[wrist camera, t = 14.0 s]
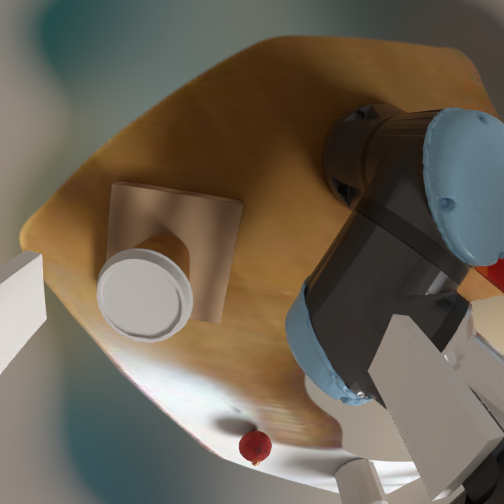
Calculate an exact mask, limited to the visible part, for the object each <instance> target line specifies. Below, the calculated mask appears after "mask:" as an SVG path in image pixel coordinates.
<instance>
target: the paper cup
mask: <svg viewBox="0 0 504 504" xmlns="http://www.w3.org/2000/svg"><path fill="white" fill-rule="evenodd" d="M475 269H476V270H477V271H478V272H479V273H480V274H481V275H482V276H483V277H485V278H486V279H487V280H488V281H489V282H491V283H492V284H493V285H494V286H496V287H497V288H498V289H499V290H500V291H502V292H503V293H504V258H503V259H500V258H498V261H497V262H496V263H495V264H493V265H489V266H475Z"/></svg>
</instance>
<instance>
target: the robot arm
mask: <svg viewBox="0 0 504 504" xmlns="http://www.w3.org/2000/svg"><path fill="white" fill-rule="evenodd" d="M323 169H324V174H325V178H326V181H327V183H328V185H329V188H330V189H331V191H332V193H333V194H334V196H335V197H336V198H337V199H338V200H339V202H340V203H341V204H343V205H344V206H345V207H346V208H348V209H349V210H351V211H352V213H351V214H350V216H349V217H348V219H347V221H346V222H345V224H344V225H343V227H342V228H341V230H340V232H339V233H338V235H337V236H336V238H335V239H334V241H333V243H332V244H331V246H330V247H329V249H328V250H327V252H326V253H325V255H324V256H323V258H322V259H321V261H320V262H319V264H318V265H317V267H316V268H315V269H314V271H313V272H312V274H311V275H310V276H308V277H307V278H306V280H305V281H304V282H303V284H302V287H301V291H300V293H299V294H298V296H297V298H296V299H295V301H294V303H293V304H292V306H291V307H290V309H289V311H288V313H287V316H286V320H285V329H286V333H287V336H286V337H287V342H288V344H289V347H290V350H291V352H292V354H293V356H294V357H295V359H296V361H297V362H298V364H299V366H300V367H301V368H302V370H303V371H304V372H305V373H306V375H307V376H308V377H309V378H310V379H311V380H312V381H313V382H314V384H316V385H317V386H318V387H319V388H320V389H321V390H322V391H323V392H325V393H326V394H327V395H329V396H331V397H332V398H334V399H339V398H340V400H341V401H342V402H343V403H344V404H347V405H351V406H358V405H362V404H364V403H367V402H369V401H371V400H372V399H374V400H376V401H377V402H378V403H379V404H380V405H382V406H383V407H384V408H385V409H386V410H388V411H389V413H390V415H391V417H392V419H393V421H394V423H395V425H396V427H397V429H398V431H399V433H400V435H401V437H402V439H403V441H404V443H405V445H406V447H407V449H408V451H409V453H410V455H411V457H412V459H413V462H414V464H415V466H416V468H417V470H418V472H419V474H420V476H421V478H422V481H423V483H424V485H425V487H426V489H427V491H428V494H429V496H430V498H431V500H432V501H434V500H437V499H440V498H443V497H446V496H449V495H451V494H452V493H453V492H454V491H455V490H456V489H457V488H458V487H459V486H460V485H461V484H462V485H463V486H464V488H465V490H464V491H463V492H462V493H461V494H460V495H459V496H458V497H457V498H456V499H454V500H453V501H452V502H451V503H450V504H504V355H503V354H502V353H501V352H500V351H499V350H498V349H496V348H495V347H494V346H493V345H492V344H491V343H489V342H488V341H487V340H486V339H485V338H484V337H482V336H481V335H480V334H479V333H478V332H477V331H476V329H475V327H474V320H473V311H472V304H471V303H470V302H468V301H467V300H466V299H465V298H464V297H462V296H461V295H460V294H459V293H458V292H457V289H458V287H459V285H460V284H461V283H462V281H463V280H464V278H465V277H466V275H467V273H468V272H469V270H470V269H471V267H472V266H489V265H493V264H495V263H496V262H497V261H498V258H500V259H503V258H504V124H503V123H502V122H500V121H499V120H498V119H496V118H495V117H493V116H492V115H490V114H487V113H485V112H481V111H475V110H464V109H461V108H456V107H455V108H446V109H439V110H430V111H422V112H414V113H407V112H405V111H403V110H401V109H399V108H397V107H395V106H392V105H387V104H380V103H374V104H367V105H363V106H359V107H356V108H353V109H351V110H349V111H348V112H346V113H345V114H343V115H342V116H341V117H340V118H339V119H338V120H337V121H336V122H335V123H334V125H333V126H332V128H331V129H330V131H329V133H328V135H327V138H326V141H325V144H324V149H323ZM46 319H47V317H46V309H45V298H44V285H43V269H42V254H40V253H36V252H32V251H27V250H26V251H24V252H23V253H21V254H20V255H18V256H17V257H15V258H14V259H12V260H10V261H9V262H7V263H6V264H5V265H3V266H1V267H0V374H1V373H2V372H3V370H4V369H5V368H6V366H7V365H8V364H9V362H10V361H11V360H12V359H13V358H14V357H15V355H16V354H17V353H18V352H19V351H20V349H21V348H22V347H23V346H24V345H25V343H26V342H27V341H28V340H29V339H30V337H31V336H32V335H33V334H34V333H35V332H36V331H37V329H38V328H39V327H40V326H41V325H42V324H43V323H44V321H45V320H46Z"/></svg>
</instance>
